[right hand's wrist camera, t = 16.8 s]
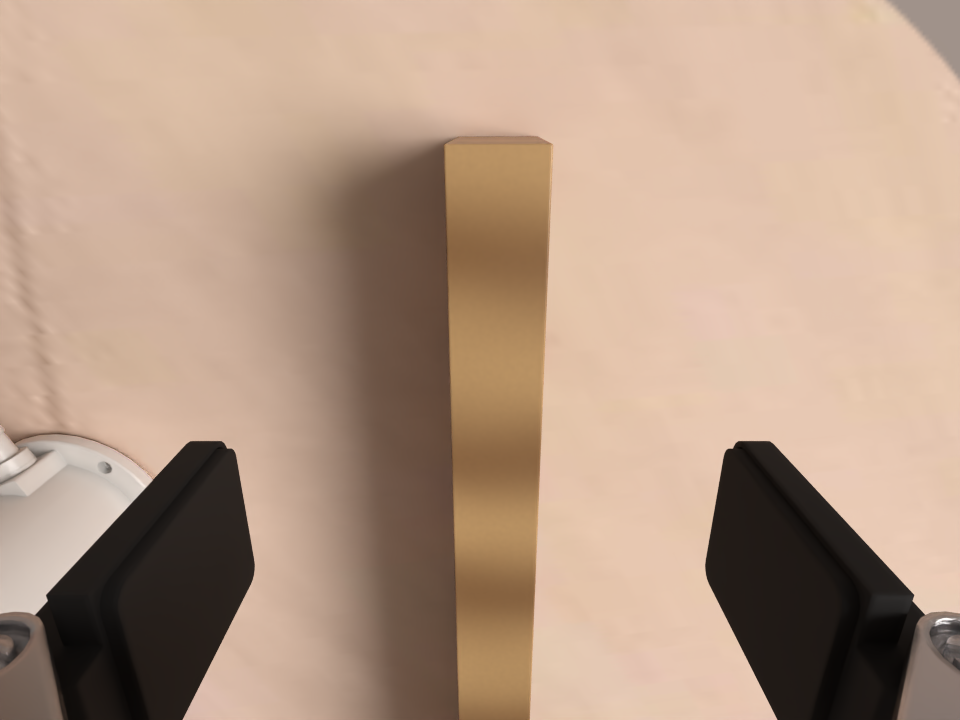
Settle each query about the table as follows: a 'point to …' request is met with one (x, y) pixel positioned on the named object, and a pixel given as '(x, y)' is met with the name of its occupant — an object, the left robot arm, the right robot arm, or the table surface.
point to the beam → (496, 408)
